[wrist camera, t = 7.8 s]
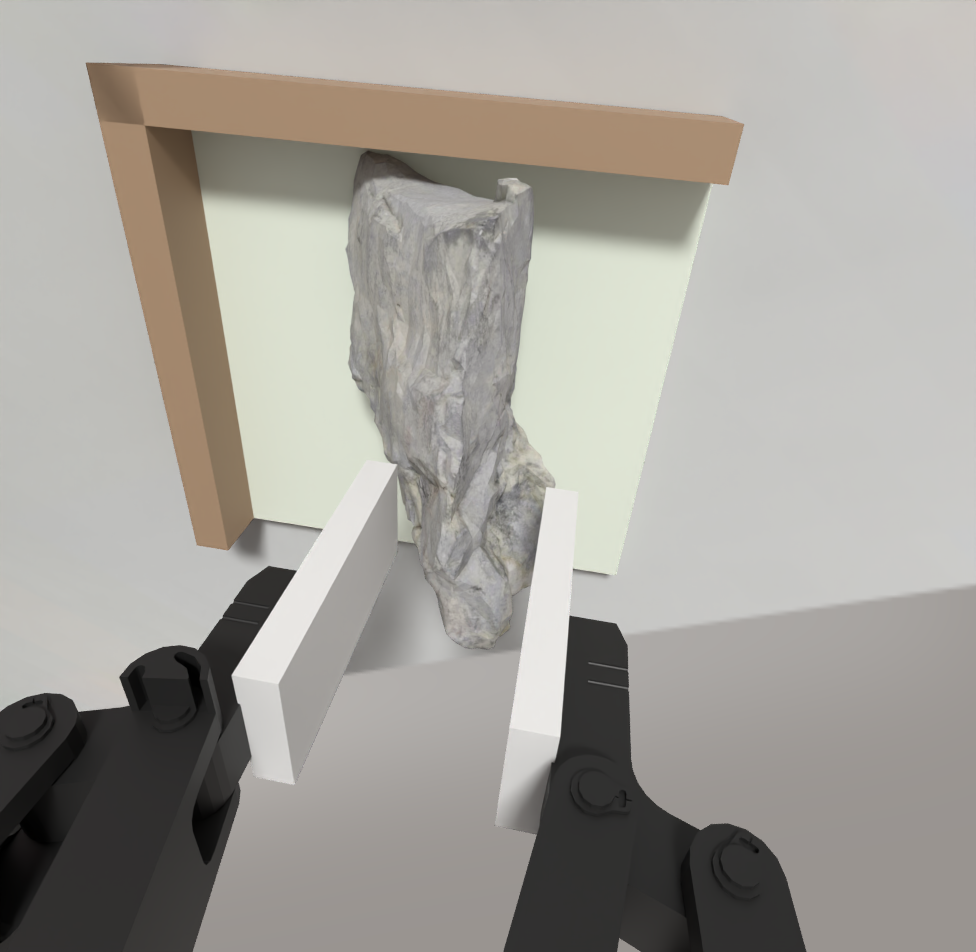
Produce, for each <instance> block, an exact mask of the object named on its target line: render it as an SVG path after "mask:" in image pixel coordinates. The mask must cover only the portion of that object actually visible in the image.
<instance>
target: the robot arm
mask: <svg viewBox="0 0 976 952" xmlns="http://www.w3.org/2000/svg"><path fill="white" fill-rule="evenodd" d="M578 493H579V492H576V491H570V490H563V489H557V488H550V487H546V493H545V499H544V506H543V512H542V519H541V525H540V532H539V538H538V545H537V551H536V558H535V564H534V571H533V577H532V584H531V590H530V597H529V603H528V610H527V616H526V623H525V629H524V636H523V643H522V649H521V656H520V662H519V669H518V675H517V682H516V688H515V695H514V701H513V708H512V714H511V721H510V727H509V735H508V740H507V747H506V754H505V761H504V767H503V774H502V781H501V787H500V793H499V801H498V807H497V813H496V820H495V826H498V827H503V828H508V829H513V830H518V831H524V832H528V833H532V834H537V836H536V840H535V843H534V847H533V850H532V854H531V857H530V861H529V864H528V868H527V871H526V875H525V878H524V882H523V886H522V889H521V892H520V896H519V899H518V903H517V906H516V910H515V913H514V917H513V920H512V924H511V927H510V931H509V934H508V937H507V941H506V944H505V948H504V952H617V948H618V942H619V938H620V939H622V940H623V941H625V942H627V943H628V944H630V945H632V946H633V947H635V948H636V949H638V950H639V951H641V952H806V949H805V945H804V942H803V938H802V935H801V931H800V927H799V923H798V920H797V916H796V912H795V909H794V905H793V901H792V898H791V894H790V890H789V887H788V883H787V879H786V877H785V875H784V872H783V870H782V868H781V866H780V864H779V861H778V859H777V858H776V856H775V855H774V854H773V853H772V852H771V850H770V849H769V848H768V847H767V846H766V844H765V843H764V842H763V841H762V840H760V839H759V838H757V837H756V836H754V835H753V834H752V833H750V832H749V831H747V830H746V829H743V828H739V827H737V826H734V825H731V824H711V825H709V826H707V827H706V828H704V829H702V830H699V829H697V828H695V827H693V826H691V825H690V824H688V823H686V822H684V821H682V820H680V819H678V818H676V817H674V816H673V815H671V814H669V813H667V812H666V811H665V810H663V809H662V808H660V807H659V806H657V805H656V804H655V803H654V802H653V801H652V800H651V799H650V798H649V797H648V796H647V795H646V794H645V793H644V791H643V790H642V788H641V787H640V786H639V784H638V782H637V780H636V777H635V775H634V772H633V768H632V762H631V744H630V714H629V692H628V687H629V682H628V681H629V680H628V648H627V644H626V642H625V640H624V638H623V636H622V634H621V632H620V630H619V628H618V626H617V624H615V623H609V622H603V621H597V620H591V619H586V618H580V617H574V616H569V613H570V600H571V587H572V573H573V560H574V546H575V533H576V520H577V506H578ZM397 552H398V508H397V464H391V463H385V462H378V461H371V460H366V462H365V464H364V465H363V467H362V468H361V470H360V472H359V473H358V475H357V476H356V478H355V479H354V481H353V483H352V484H351V486H350V487H349V489H348V491H347V492H346V494H345V495H344V497H343V499H342V500H341V502H340V503H339V505H338V507H337V508H336V510H335V511H334V513H333V515H332V516H331V518H330V519H329V521H328V523H327V524H326V526H325V527H324V529H323V530H322V532H321V534H320V535H319V537H318V538H317V540H316V542H315V543H314V545H313V546H312V548H311V550H310V551H309V553H308V554H307V556H306V558H305V559H304V561H303V562H302V564H301V566H300V567H299V569H298V570H297V571H295V570H289V569H283V568H277V567H271V566H268V567H267V568H265V569H264V570H262V571H261V572H260V573H258V574H257V575H255V576H254V577H252V578H251V579H250V580H248V581H247V582H246V584H245V585H244V587H243V588H242V589H241V591H240V592H239V594H238V595H237V596H236V598H235V599H234V603H233V604H231V605H230V606H229V608H228V609H227V610H226V612H225V613H224V615H223V618H222V619H220V620H219V622H218V623H217V624H216V626H215V627H214V629H213V630H212V631H211V633H210V634H209V636H208V637H207V638H206V640H205V641H204V643H203V644H202V645H201V647H200V648H199V650H197V649H195V648H191V647H186V646H181V645H178V646H169V647H162V648H159V649H157V650H154V651H151V652H149V653H146V654H144V655H143V656H141V657H140V658H138V659H137V660H135V661H134V662H132V663H131V664H130V665H129V666H128V667H127V668H126V670H125V671H124V672H123V673H122V674H121V676H120V677H119V678H120V680H121V683H122V686H123V688H124V691H125V694H126V697H127V699H128V702H129V705H130V706H126V707H121V708H111V709H102V710H92V711H83V712H78V710H77V708H76V706H75V704H74V702H73V700H71V699H69V698H68V697H66V696H64V695H62V694H51V693H44V694H39V695H34V696H30V697H26V698H24V699H22V700H20V701H18V702H15V703H13V704H11V705H9V706H7V707H6V708H5V709H3V710H2V711H1V712H0V952H193V948H194V945H195V942H196V939H197V936H198V933H199V929H200V926H201V923H202V919H203V916H204V913H205V910H206V907H207V903H208V901H209V897H210V894H211V891H212V888H213V885H214V882H215V878H216V875H217V872H218V869H219V865H220V863H221V859H222V856H223V853H224V850H225V847H226V843H227V840H228V837H229V834H230V831H231V827H232V824H233V821H234V818H235V815H236V812H237V808H238V805H239V799H240V787H239V783H238V781H239V779H240V778H241V776H242V773H243V772H244V770H245V768H246V766H247V764H248V762H249V760H250V761H251V766H252V770H253V774H254V777H257V778H262V779H267V780H272V781H277V782H282V783H287V784H291V785H295V783H296V781H297V778H298V776H299V774H300V772H301V769H302V767H303V765H304V763H305V761H306V758H307V756H308V754H309V751H310V749H311V747H312V745H313V742H314V740H315V738H316V736H317V733H318V731H319V729H320V726H321V724H322V722H323V720H324V718H325V715H326V713H327V710H328V708H329V706H330V704H331V701H332V699H333V697H334V695H335V692H336V690H337V688H338V685H339V684H340V681H341V679H342V677H343V675H344V672H345V670H346V668H347V665H348V663H349V661H350V659H351V656H352V654H353V652H354V650H355V647H356V645H357V643H358V641H359V638H360V636H361V634H362V631H363V629H364V627H365V625H366V622H367V620H368V618H369V616H370V613H371V611H372V609H373V607H374V604H375V602H376V600H377V598H378V595H379V593H380V591H381V588H382V586H383V584H384V582H385V579H386V577H387V575H388V573H389V570H390V568H391V566H392V564H393V561H394V559H395V557H396V554H397Z"/></svg>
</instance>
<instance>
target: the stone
mask: <svg viewBox="0 0 976 952" xmlns="http://www.w3.org/2000/svg"><path fill="white" fill-rule="evenodd" d="M533 228H534V195H533V190H532V187H531V186H529V185H527V184H525V183H522V182H520V181H519V180H518V179H517V178H505V179H498V180H497V188H496V196H495V199H494V200H491V199H486V198H482V197H475V196H473V195H471V194H469V193H467V192H465V191H463V190H461V189H459V188H455V187H451V186H447V185H444V184H440V183H437V182H434V181H432V180H430V179H428V178H426V177H424V176H422V175H421V174H419V173H417V172H416V171H414V170H413V169H412V168H411V167H409V166H408V165H407V164H406V163H404V162H402V161H400V160H398V159H396V158H394V157H392V156H390V155H388V154H379V153H375V152H371V151H366V152H365V153H363V154H362V155H361V156H360V159H359V163H358V166H357V170H356V174H355V178H354V189H353V200H352V206H351V212H350V215H349V218H348V245H347V247H346V249H345V250H346V253H347V257H348V264H349V270H350V276H351V280H352V283H353V287H354V291H355V295H354V301H353V309H352V319H351V326H350V340H351V345H350V355H349V360H348V365H349V368H350V371H351V373H352V379H353V380H354V381H355V383H356V385H357V387H358V389H359V390H360V391H362V392H363V393H365V394H366V395H367V397H368V398H369V399H370V406H371V409H372V410H373V411H374V413H375V417H374V422H375V424H376V426H377V428H378V430H379V432H380V434H381V437H382V441H383V447H384V454H385V456H386V458H387V460H388V461H389V462H391V463H392V464H397V476H398V479H399V485H400V490H401V496H402V501H403V504H404V505H405V510H406V515H407V519H408V520H409V521H411V522H412V524H413V529H412V532H411V533H412V539H413V541H414V543H415V544H416V546H417V548H418V550H419V556H420V563H421V566H422V567H423V568H424V573H425V579H426V580H427V581H428V582H429V584H430V585H431V586H432V587H433V589H434V590H435V592H436V595H437V598H438V603H439V608H440V612H441V616H442V620H443V624H444V627H445V631H446V634H447V635H448V636H449V637H450V638H451V639H452V640H453V641H455V642H456V643H457V644H459V645H461V646H463V647H465V648H469V649H474V648H481V649H491V648H494V646H495V643H496V640H497V638H498V637H499V636H502V635H503V633H504V632H506V631H508V630H509V629H510V624H509V621H510V619H511V617H512V614H513V607H512V596H513V595H515V594H517V593H518V592H519V591H520V590H522V589H523V588H526V587H528V586H531V584H532V577H533V571H534V564H535V558H536V551H537V545H538V538H539V532H540V525H541V519H542V512H543V506H544V499H545V493H546V487H550V488H555V485H556V483H555V480H554V477H553V476H552V475H551V474H550V472H549V471H548V470H547V469H546V467H545V466H544V464H543V461H542V457H541V455H540V454H539V453H538V452H537V451H536V450H535V449H534V448H533V447H532V446H531V445H530V444H529V442H528V438H527V435H526V433H525V431H524V430H523V428H522V427H521V426H520V425H519V424H518V423H517V422H516V421H515V418H514V415H513V411H512V409H511V408H510V406H511V397H512V394H513V391H514V389H515V377H516V371H517V365H516V363H517V359H518V352H519V345H520V332H521V323H522V316H523V310H524V304H525V294H526V286H527V282H528V268H529V262H530V260H531V249H532V239H533Z"/></svg>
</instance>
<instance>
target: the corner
mask: <svg viewBox="0 0 976 952" xmlns="http://www.w3.org/2000/svg"><path fill="white" fill-rule="evenodd" d="M86 66H87V70H88V75H89V79H90V83H91V88H92V92H93V96H94V101H95V105H96V109H97V114H98V118H99V122H100V127H101V131H102V135H103V140H104V144H105V148H106V153H107V157H108V161H109V166H110V170H111V174H112V179H113V183H114V187H115V192H116V196H117V200H118V205H119V209H120V213H121V218H122V222H123V226H124V231H125V235H126V239H127V244H128V248H129V252H130V257H131V261H132V265H133V270H134V274H135V278H136V283H137V287H138V291H139V296H140V300H141V305H142V309H143V313H144V318H145V322H146V326H147V331H148V335H149V339H150V344H151V348H152V352H153V357H154V361H155V365H156V370H157V374H158V378H159V383H160V387H161V391H162V396H163V400H164V404H165V409H166V413H167V417H168V422H169V426H170V430H171V435H172V439H173V443H174V448H175V452H176V456H177V461H178V465H179V469H180V474H181V478H182V482H183V487H184V491H185V495H186V500H187V504H188V508H189V513H190V517H191V521H192V526H193V530H194V534H195V539H196V543H197V545H199V546H205V547H211V548H217V549H223V550H229V549H230V548H231V546H232V545H233V544H234V543H235V541H236V540H237V539H238V538H239V536H240V535H241V534H242V532H243V531H244V530H245V529H246V527H247V526H248V525H249V524H250V522H251V521H252V520H253V518H258V519H264V520H270V521H277V522H283V523H289V524H296V525H302V526H308V527H314V528H321V529H324V527H325V526H326V524H327V523H328V521H329V519H330V518H331V516H332V515H333V513H334V511H335V510H336V508H337V507H338V505H339V503H340V502H341V500H342V499H343V497H344V495H345V494H346V492H347V491H348V489H349V487H350V486H351V484H352V483H353V481H354V479H355V478H356V476H357V475H358V473H359V472H360V470H361V468H362V467H363V465H364V464H365V462H366V460H371V461H378V462H385V463H391V462H389V461H388V460H387V458H386V456H385V454H384V447H383V441H382V437H381V434H380V432H379V430H378V428H377V426H376V424H375V422H374V417H375V413H374V411H373V410H372V409H371V406H370V399H369V398H368V397H367V395H366V394H365V393H363V392H362V391H360V390H359V389H358V387H357V385H356V383H355V381H354V380H353V379H352V373H351V371H350V368H349V365H348V360H349V355H350V345H351V340H350V326H351V319H352V309H353V301H354V295H355V291H354V287H353V283H352V280H351V276H350V270H349V264H348V257H347V253H346V250H345V249H346V247H347V245H348V218H349V215H350V212H351V206H352V200H353V189H354V178H355V174H356V170H357V166H358V163H359V159H360V156H361V155H362V154H363V153H365V152H366V151H371V152H375V153H379V154H388V155H390V156H392V157H394V158H396V159H398V160H400V161H402V162H404V163H406V164H407V165H408V166H409V167H411V168H412V169H413V170H414V171H416V172H417V173H419V174H421V175H422V176H424V177H426V178H428V179H430V180H432V181H434V182H437V183H440V184H444V185H447V186H451V187H455V188H459V189H461V190H463V191H465V192H467V193H469V194H471V195H473V196H475V197H482V198H486V199H491V200H494V199H495V196H496V188H497V180H498V179H505V178H517V179H518V180H519V181H520V182H522V183H525V184H527V185H529V186H531V187H532V190H533V195H534V228H533V239H532V249H531V260H530V262H529V268H528V282H527V286H526V294H525V304H524V310H523V316H522V323H521V332H520V345H519V352H518V359H517V363H516V365H517V371H516V377H515V389H514V391H513V394H512V397H511V406H510V408H511V409H512V411H513V415H514V418H515V421H516V422H517V423H518V424H519V425H520V426H521V427H522V428H523V430H524V431H525V433H526V435H527V438H528V442H529V444H530V445H531V446H532V447H533V448H534V449H535V450H536V451H537V452H538V453H539V454H540V455H541V457H542V461H543V464H544V466H545V467H546V469H547V470H548V471H549V472H550V474H551V475H552V476H553V477H554V480H555V483H556V485H555V488H557V489H563V490H570V491H576V492H579V493H578V506H577V520H576V533H575V546H574V560H573V569H579V570H585V571H592V572H598V573H604V574H611V575H616V573H617V569H618V565H619V561H620V557H621V553H622V549H623V545H624V541H625V537H626V533H627V529H628V525H629V521H630V517H631V513H632V509H633V505H634V500H635V496H636V492H637V488H638V484H639V480H640V476H641V472H642V468H643V464H644V460H645V456H646V452H647V448H648V444H649V440H650V436H651V432H652V428H653V424H654V419H655V415H656V411H657V407H658V403H659V399H660V395H661V391H662V387H663V383H664V379H665V375H666V371H667V367H668V363H669V359H670V355H671V351H672V347H673V343H674V338H675V334H676V330H677V326H678V322H679V318H680V314H681V310H682V306H683V302H684V298H685V294H686V290H687V286H688V282H689V278H690V274H691V270H692V266H693V262H694V257H695V253H696V249H697V245H698V241H699V237H700V233H701V229H702V225H703V221H704V217H705V213H706V209H707V205H708V201H709V197H710V193H711V189H712V185H713V184H722V185H728V184H729V181H730V177H731V173H732V169H733V165H734V161H735V157H736V154H737V150H738V146H739V142H740V138H741V134H742V131H743V127H744V124H742V123H739V122H736V121H734V120H731V119H728V118H725V117H723V116H713V115H702V114H691V113H680V112H670V111H659V110H648V109H637V108H627V107H616V106H605V105H594V104H584V103H573V102H562V101H551V100H540V99H530V98H519V97H508V96H497V95H487V94H476V93H465V92H454V91H444V90H433V89H422V88H411V87H400V86H390V85H379V84H368V83H357V82H347V81H336V80H325V79H314V78H304V77H293V76H282V75H271V74H260V73H250V72H239V71H228V70H217V69H207V68H196V67H185V66H174V65H164V64H126V63H86ZM391 464H392V463H391ZM397 508H398V541H403V542H409V543H414V541H413V539H412V533H411V532H412V529H413V524H412V522H411V521H409V520H408V519H407V515H406V510H405V505H404V504H403V501H402V496H401V490H400V485H399V479H398V476H397Z"/></svg>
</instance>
